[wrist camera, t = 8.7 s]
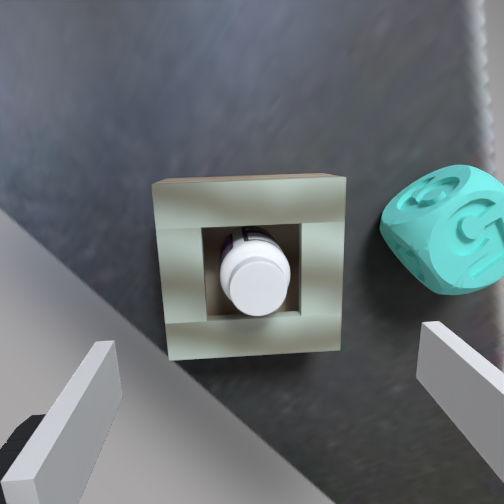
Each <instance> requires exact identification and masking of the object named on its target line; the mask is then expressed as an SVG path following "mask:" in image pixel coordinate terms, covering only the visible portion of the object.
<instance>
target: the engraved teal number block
mask: <svg viewBox="0 0 504 504" xmlns="http://www.w3.org/2000/svg"><path fill="white" fill-rule="evenodd" d="M380 232H381V235H382V237H383V238H384V240H385V242H386V243H387V245H388V246H389V248H390V249H391V250H392V252H393V253H394V254H395V256H396V257H397V258H398V259H399V260H400V262H401V263H402V264H403V265H404V266H405V267H406V268H407V269H408V270H409V271H410V272H411V273H412V274H413V275H414V276H415V277H416V278H417V279H418V280H419V281H420V282H421V283H422V284H424V285H425V286H426V287H427V288H429V289H430V290H431V291H433V292H435V293H437V294H444V295H460V294H466V293H471V292H474V291H477V290H480V289H483V288H485V287H487V286H489V285H491V284H493V283H495V282H496V281H498V280H499V279H501V278H502V277H503V276H504V185H502V184H501V183H500V182H499V181H498V180H496V179H495V178H494V177H492V176H491V175H489V174H487V173H486V172H484V171H482V170H480V169H478V168H475V167H472V166H467V165H453V166H448V167H445V168H442V169H439V170H436V171H434V172H432V173H429V174H427V175H425V176H423V177H422V178H420V179H418V180H416V181H415V182H413V183H412V184H410V185H409V186H407V187H406V188H404V189H403V190H402V191H401V192H399V193H398V194H397V195H396V196H395V197H394V198H393V199H392V200H391V201H390V202H389V203H388V205H387V206H386V207H385V209H384V211H383V213H382V217H381V221H380Z"/></svg>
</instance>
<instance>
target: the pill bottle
mask: <svg viewBox="0 0 504 504" xmlns="http://www.w3.org/2000/svg"><path fill="white" fill-rule="evenodd" d="M220 282H221V286H222V288H223V291H224V292H225V294H226V295H227V297H228V298H229V299H230V300H231V301H232V302H233V303H234V305H235V306H236V307H237V308H238V309H239V310H240V311H242V312H243V313H245V314H248V315H252V316H263V315H267V314H270V313H272V312H273V311H275V310H276V309H278V308H279V307H280V306H281V304H282V303H283V301H284V299H285V297H286V294H287V288H288V286H289V282H290V267H289V264H288V261H287V259H286V257H285V255H284V253H283V252H282V250H281V248H280V247H279V245H278V244H277V242H276V240H275V239H274V237H273V236H272V235H271V234H270V233H269V232H268V231H266V230H265V229H263V228H260V227H257V226H243V227H240V228H238V229H236V230H234V231H233V232H231V233H230V234H229V235H228V236H227V238H226V239H225V241H224V243H223V245H222V248H221V256H220Z"/></svg>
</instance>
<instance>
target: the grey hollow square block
mask: <svg viewBox="0 0 504 504" xmlns="http://www.w3.org/2000/svg"><path fill="white" fill-rule="evenodd" d="M151 186H152V196H153V206H154V216H155V226H156V236H157V246H158V256H159V266H160V276H161V286H162V296H163V306H164V317H165V327H166V337H167V347H168V357H169V361H172V360H188V359H205V358H221V357H237V356H253V355H269V354H286V353H302V352H318V351H334V350H340V340H341V311H342V283H343V254H344V226H345V197H346V177H341V176H335V175H330V174H324V173H310V174H281V175H252V176H223V177H194V178H167V179H164V180H162V181H159V182H156V183H154V184H151ZM243 226H257V227H260V228H263V229H265V230H266V231H268V232H269V233H270V234H271V235H272V236H273V237H274V239H275V240H276V242H277V244H278V245H279V247H280V248H281V250H282V252H283V253H284V255H285V257H286V259H287V261H288V264H289V267H290V282H289V286H288V288H287V294H286V297H285V299H284V301H283V303H282V304H281V306H280V307H279V308H278V309H276V310H275V311H273V312H272V313H270V314H267V315H263V316H252V315H248V314H245V313H243V312H242V311H240V310H239V309H238V308H237V307H236V306H235V305H234V303H233V302H232V301H231V300H230V299H229V298H228V297H227V295H226V294H225V292H224V291H223V288H222V286H221V282H220V256H221V248H222V245H223V243H224V241H225V239H226V238H227V236H228V235H229V234H230V233H231V232H233V231H234V230H236V229H238V228H240V227H243Z"/></svg>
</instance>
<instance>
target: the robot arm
mask: <svg viewBox="0 0 504 504" xmlns="http://www.w3.org/2000/svg"><path fill="white" fill-rule="evenodd" d="M416 378H417V379H418V380H419V381H420V383H421V384H422V385H423V386H424V387H425V389H426V390H427V391H428V392H429V393H430V395H431V396H432V397H433V398H434V399H435V401H436V402H437V403H438V404H439V405H440V407H441V408H442V409H443V410H444V411H445V413H446V414H447V415H448V416H449V417H450V419H451V420H452V421H453V422H454V423H455V425H456V426H457V427H458V428H459V430H460V431H461V432H462V433H463V434H464V436H465V437H466V438H467V439H468V440H469V442H470V443H471V444H472V445H473V446H474V448H475V449H476V450H477V451H478V452H479V454H480V455H481V456H482V457H483V458H484V460H485V461H486V462H487V463H488V464H489V466H490V467H491V468H492V469H493V470H494V472H495V473H496V474H497V475H498V476H499V478H500V479H501V480H502V481H503V482H504V373H502V372H501V371H500V370H499V369H497V368H496V367H495V366H494V365H492V364H491V363H490V362H489V361H488V360H486V359H485V358H484V357H483V356H481V355H480V354H479V353H478V352H476V351H475V350H474V349H473V348H471V347H470V346H469V345H468V344H467V343H465V342H464V341H463V340H462V339H460V338H459V337H458V336H457V335H455V334H454V333H453V332H452V331H450V330H449V329H448V328H447V327H445V326H444V325H443V324H442V323H441V322H439V321H435V322H422V327H421V336H420V345H419V355H418V364H417V373H416ZM122 398H123V394H122V387H121V380H120V374H119V367H118V360H117V353H116V346H115V341H114V340H113V341H96V342H95V343H94V345H93V347H92V348H91V349H90V351H89V352H88V354H87V355H86V357H85V358H84V360H83V361H82V363H81V364H80V365H79V367H78V368H77V370H76V371H75V373H74V374H73V376H72V377H71V379H70V380H69V382H68V383H67V385H66V386H65V388H64V389H63V390H62V392H61V393H60V395H59V396H58V398H57V399H56V401H55V402H54V404H53V405H52V407H51V408H50V410H49V411H48V413H47V414H44V415H32V416H31V417H29V418H28V419H27V420H25V421H24V422H23V423H22V424H20V425H19V426H18V427H17V428H16V429H15V430H14V432H13V433H12V435H11V436H10V437H9V439H8V440H7V443H5V444H4V445H3V446H2V448H1V449H0V504H79V501H80V499H81V496H82V494H83V491H84V489H85V487H86V484H87V482H88V480H89V477H90V475H91V473H92V470H93V468H94V465H95V463H96V461H97V458H98V456H99V453H100V451H101V449H102V446H103V444H104V441H105V439H106V437H107V434H108V432H109V429H110V427H111V425H112V422H113V420H114V417H115V415H116V413H117V410H118V408H119V405H120V403H121V400H122Z"/></svg>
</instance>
